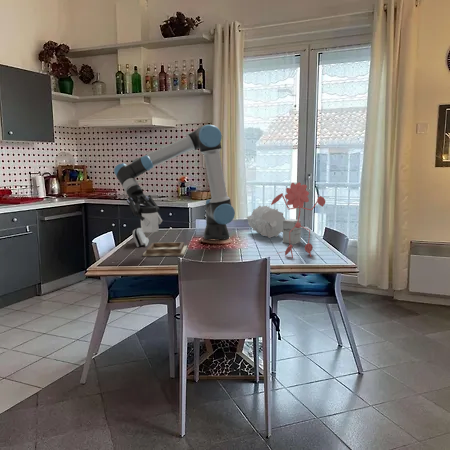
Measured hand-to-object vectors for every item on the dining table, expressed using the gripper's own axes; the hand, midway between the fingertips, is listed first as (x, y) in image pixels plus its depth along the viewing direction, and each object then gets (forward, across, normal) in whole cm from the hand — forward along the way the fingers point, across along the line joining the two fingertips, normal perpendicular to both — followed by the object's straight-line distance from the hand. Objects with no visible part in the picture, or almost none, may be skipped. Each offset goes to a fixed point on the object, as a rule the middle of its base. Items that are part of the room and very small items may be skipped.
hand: (154, 223), depth 213 cm
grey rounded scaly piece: (+19, -76, -6) cm, 78 cm away
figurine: (+49, -45, +25) cm, 71 cm away
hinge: (-9, -12, -32) cm, 35 cm away
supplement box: (+36, -67, +12) cm, 77 cm away
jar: (0, 0, -6) cm, 6 cm away
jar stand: (+10, -8, -13) cm, 18 cm away
